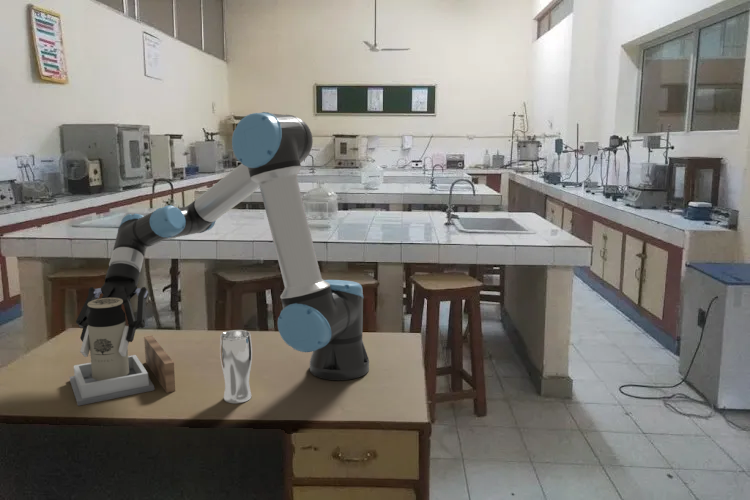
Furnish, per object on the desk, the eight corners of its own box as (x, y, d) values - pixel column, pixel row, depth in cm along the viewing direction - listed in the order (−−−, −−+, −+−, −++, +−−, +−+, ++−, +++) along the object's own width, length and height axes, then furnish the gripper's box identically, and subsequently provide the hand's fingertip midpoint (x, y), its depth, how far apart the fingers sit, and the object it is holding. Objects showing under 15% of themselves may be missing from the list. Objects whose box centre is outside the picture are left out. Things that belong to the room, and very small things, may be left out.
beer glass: (233, 389, 138) (231, 327, 135) (259, 394, 135) (257, 331, 132) (215, 401, 131) (212, 337, 128) (241, 406, 129) (239, 341, 126)
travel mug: (105, 368, 143) (100, 296, 140) (136, 370, 142) (131, 298, 139) (84, 381, 135) (78, 305, 132) (116, 383, 134) (110, 307, 131)
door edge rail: (175, 390, 136) (173, 362, 135) (166, 392, 135) (164, 364, 134) (153, 361, 155) (152, 335, 153) (145, 362, 153) (144, 336, 152)
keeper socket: (154, 390, 137) (153, 373, 136) (77, 405, 128) (76, 388, 127) (140, 367, 150) (139, 352, 149) (69, 380, 141) (68, 364, 141)
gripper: (170, 277, 151) (153, 360, 138) (87, 277, 150) (63, 361, 137) (162, 261, 144) (144, 346, 131) (76, 261, 143) (49, 347, 131)
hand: (103, 354), depth 134 cm, fingers closed on travel mug, 8 cm apart
